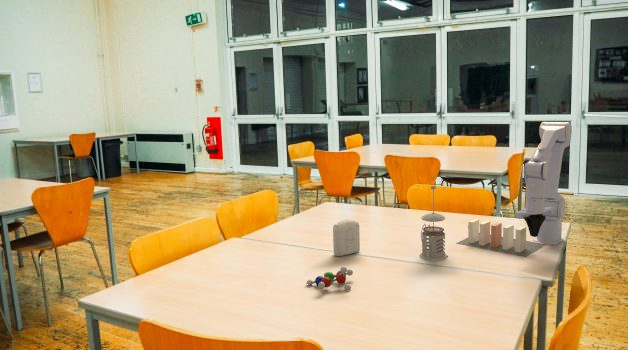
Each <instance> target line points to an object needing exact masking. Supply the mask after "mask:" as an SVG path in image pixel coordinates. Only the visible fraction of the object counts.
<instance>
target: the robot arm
mask: <svg viewBox="0 0 628 350" xmlns="http://www.w3.org/2000/svg"><path fill="white" fill-rule="evenodd" d="M572 130H573V128H572V123H570V121H567V122H563V121H561V122H558V121H557V122H556V121H555V122H553V121H551V122H549V121H542V122H541V123H540V125H539V130H538V134H539V137H540V144H539V146H537V147H536V148H535V149H534V151H533V153H532V156H531V157H530V160H529V161H528V162H525V163H524V164H525V165H524V167H523V176H524V177H523V178H524V184H525V207H524V208H523V209H521V210H518V211H517V210H516V211H515V212H514V213H515V216H514V217H515V218H517V219H522V218H523V219H524V221H525V223H526V225H527V228H528V232H529V236H530V237H533V238H535V239H533V240H532V242H536V243H542V244H547V245H552V246H555V245H557V244H559V243H561V241H564V240H565V238H562V229H563V228H562V226H563V224H562V220H561V219H562V218H563V217H564V215H565V211H566V206H565V204H566V199H565V198H564V196H563V195H561V194H560V192H558V191H559V183H560V179H561V177H560V175H561V170H562V164H563V163H562V162H563V155H564V152H565V149H566V148H568V147H570V145H571V139H572V134H573V133H572Z"/></svg>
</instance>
